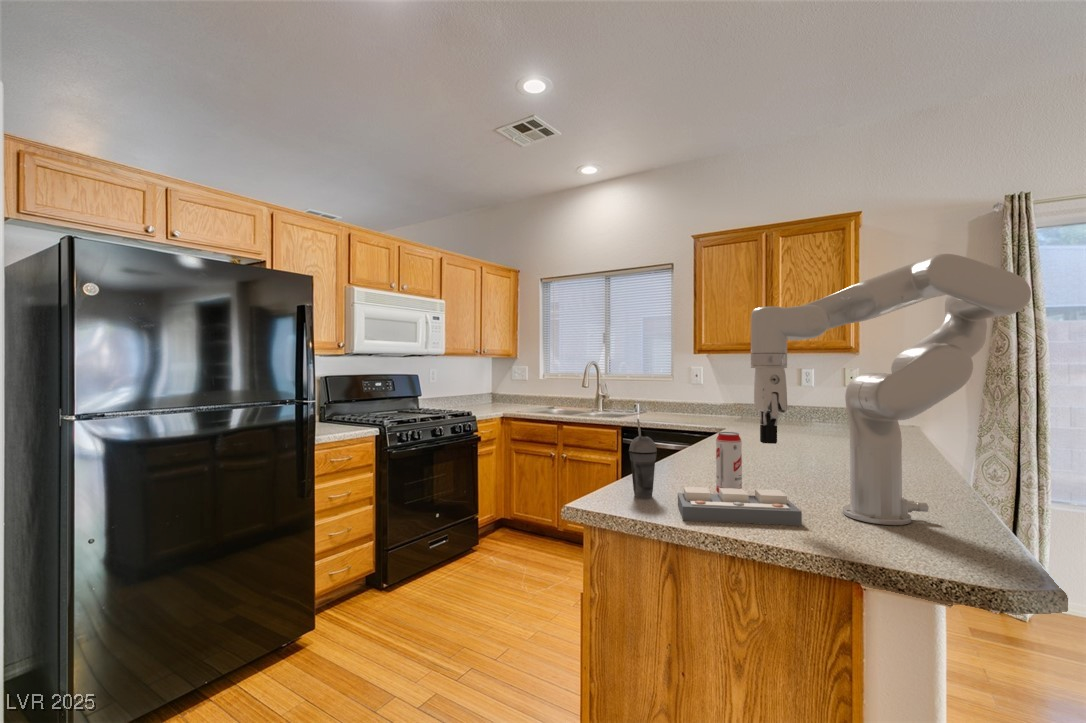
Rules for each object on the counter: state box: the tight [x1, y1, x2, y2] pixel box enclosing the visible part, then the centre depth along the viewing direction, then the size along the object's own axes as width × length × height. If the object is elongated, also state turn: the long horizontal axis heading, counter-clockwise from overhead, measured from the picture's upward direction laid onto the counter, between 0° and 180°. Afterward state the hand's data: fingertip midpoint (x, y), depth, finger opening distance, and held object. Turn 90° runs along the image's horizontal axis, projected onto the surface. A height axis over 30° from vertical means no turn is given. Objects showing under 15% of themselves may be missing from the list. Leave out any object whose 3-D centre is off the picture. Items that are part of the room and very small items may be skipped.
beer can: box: [715, 431, 743, 494], centre depth 130 cm, size 6×6×16 cm
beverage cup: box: [628, 418, 658, 500], centre depth 129 cm, size 7×7×20 cm
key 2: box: [754, 488, 788, 505], centre depth 113 cm, size 5×5×3 cm
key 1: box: [683, 486, 712, 502], centre depth 116 cm, size 5×5×3 cm
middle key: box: [718, 488, 750, 503], centre depth 114 cm, size 5×5×3 cm
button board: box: [677, 492, 803, 527], centre depth 112 cm, size 24×12×4 cm, turn 80°
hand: (768, 442), depth 113 cm, fingers closed
